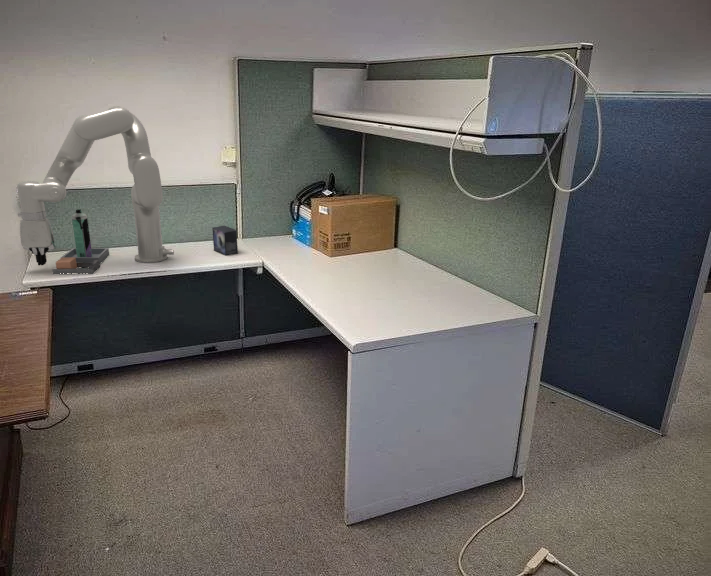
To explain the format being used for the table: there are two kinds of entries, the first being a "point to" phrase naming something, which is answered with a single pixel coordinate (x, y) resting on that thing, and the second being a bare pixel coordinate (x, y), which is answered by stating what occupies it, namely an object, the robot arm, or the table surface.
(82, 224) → the spray can
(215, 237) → the small box
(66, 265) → the block
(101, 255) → the tray
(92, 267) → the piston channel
